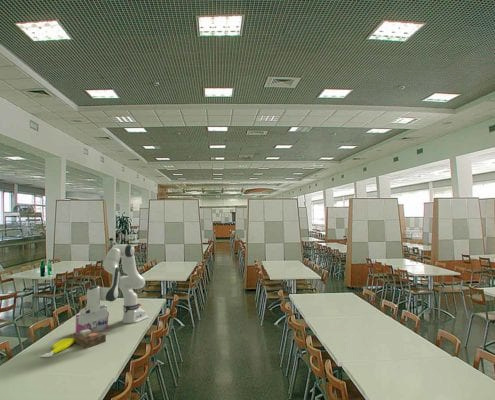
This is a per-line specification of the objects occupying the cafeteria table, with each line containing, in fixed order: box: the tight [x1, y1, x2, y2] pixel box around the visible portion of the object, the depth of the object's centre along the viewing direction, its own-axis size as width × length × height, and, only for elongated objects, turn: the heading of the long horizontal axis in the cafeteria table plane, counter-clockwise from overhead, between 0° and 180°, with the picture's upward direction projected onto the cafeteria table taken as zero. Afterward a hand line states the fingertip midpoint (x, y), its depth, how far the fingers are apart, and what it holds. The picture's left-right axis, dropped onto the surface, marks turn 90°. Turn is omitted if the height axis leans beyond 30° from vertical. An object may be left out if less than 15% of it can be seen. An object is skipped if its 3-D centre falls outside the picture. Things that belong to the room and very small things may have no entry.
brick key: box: [87, 333, 98, 338], centre depth 221 cm, size 5×5×4 cm
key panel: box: [71, 329, 107, 349], centre depth 224 cm, size 14×20×5 cm
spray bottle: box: [39, 337, 75, 358], centre depth 211 cm, size 3×11×24 cm
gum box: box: [75, 311, 109, 334], centre depth 247 cm, size 24×8×14 cm, turn 125°
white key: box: [80, 329, 91, 335], centre depth 227 cm, size 5×5×4 cm
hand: (93, 327), depth 222 cm, fingers closed
